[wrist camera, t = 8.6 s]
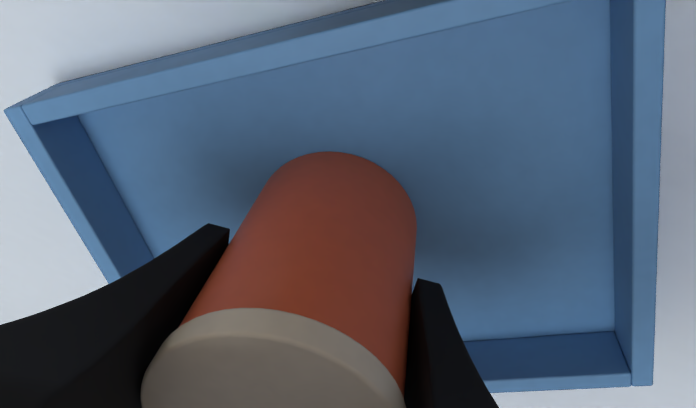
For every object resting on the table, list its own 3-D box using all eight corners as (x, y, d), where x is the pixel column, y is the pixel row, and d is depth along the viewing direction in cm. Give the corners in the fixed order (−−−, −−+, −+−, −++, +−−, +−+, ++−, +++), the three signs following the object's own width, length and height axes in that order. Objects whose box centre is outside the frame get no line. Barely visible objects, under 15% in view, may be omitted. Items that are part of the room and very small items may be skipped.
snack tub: (394, 129, 14) (356, 315, 8) (437, 275, 17) (435, 508, 10) (229, 169, 16) (87, 352, 10) (290, 298, 18) (210, 512, 12)
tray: (630, -63, 12) (669, -54, 10) (630, 331, 17) (653, 386, 15) (55, 83, 16) (2, 110, 14) (206, 361, 22) (183, 407, 20)
